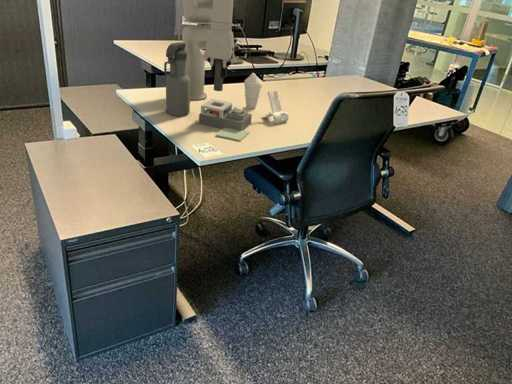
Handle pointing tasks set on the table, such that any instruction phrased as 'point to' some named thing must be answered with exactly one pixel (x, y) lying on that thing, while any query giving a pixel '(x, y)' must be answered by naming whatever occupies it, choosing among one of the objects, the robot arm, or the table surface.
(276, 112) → the plastic part
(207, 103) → the grey push-button box
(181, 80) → the water bottle
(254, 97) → the soft serve ice cream cone
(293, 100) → the table surface
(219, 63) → the stylus
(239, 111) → the on button
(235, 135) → the mat
